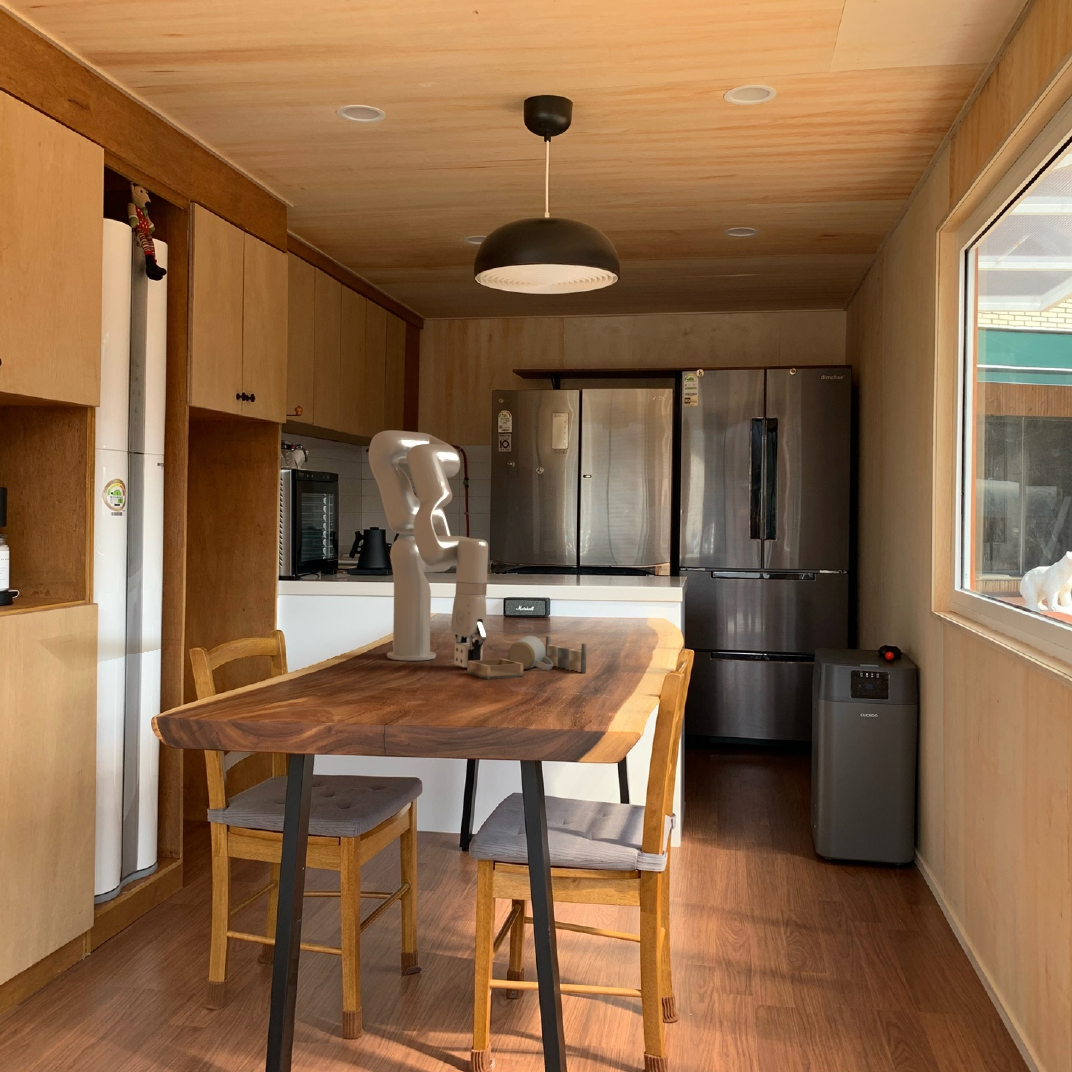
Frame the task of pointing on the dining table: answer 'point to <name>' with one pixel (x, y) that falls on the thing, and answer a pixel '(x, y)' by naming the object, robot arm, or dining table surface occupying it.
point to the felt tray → (495, 668)
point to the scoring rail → (566, 656)
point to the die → (462, 654)
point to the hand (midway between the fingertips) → (468, 662)
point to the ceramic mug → (530, 653)
